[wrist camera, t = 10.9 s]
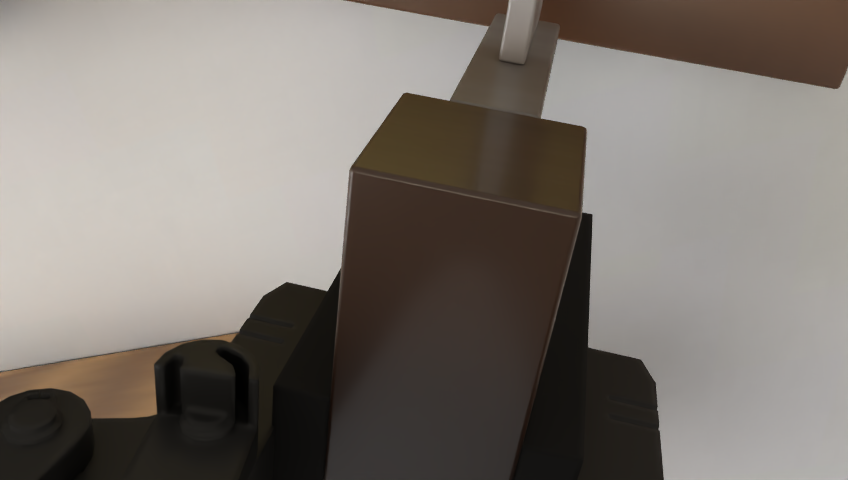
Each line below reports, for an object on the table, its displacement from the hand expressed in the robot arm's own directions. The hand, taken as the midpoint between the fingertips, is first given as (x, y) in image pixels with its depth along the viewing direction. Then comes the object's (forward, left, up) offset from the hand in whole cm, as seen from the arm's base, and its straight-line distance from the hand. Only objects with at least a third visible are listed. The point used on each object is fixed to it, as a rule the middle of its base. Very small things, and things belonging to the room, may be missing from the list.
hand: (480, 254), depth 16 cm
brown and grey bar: (+7, 0, -1) cm, 7 cm away
